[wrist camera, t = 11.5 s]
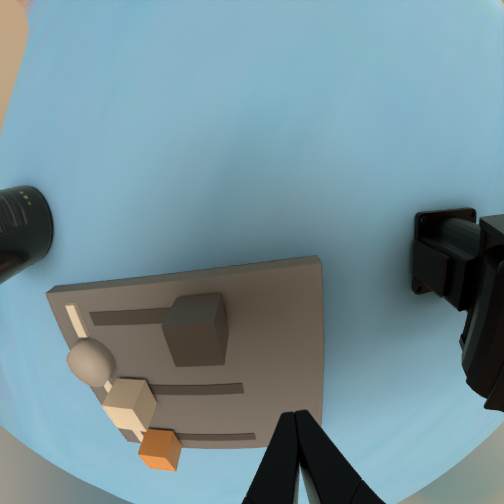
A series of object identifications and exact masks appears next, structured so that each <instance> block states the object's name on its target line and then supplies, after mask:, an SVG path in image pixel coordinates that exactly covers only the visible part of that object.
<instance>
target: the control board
mask: <svg viewBox="0 0 504 504" xmlns="http://www.w3.org/2000/svg"><path fill="white" fill-rule="evenodd" d="M215 293H221V295H222V300H223V305H224V310H225V315H226V319H227V324H228V328H229V337H228V344H227V351H226V358H225V365H217V366H195V367H176V366H175V364H174V361H173V358H172V356H171V353H170V350H169V348H168V345H167V342H166V339H165V336H164V333H163V331H162V328H161V325H162V323H163V321H164V319H165V318H166V316H167V314H168V312H169V310H170V308H171V306H172V305H173V303H174V301H175V299H176V297H186V296H196V295H206V294H215ZM45 294H46V296H47V299H48V302H49V304H50V307H51V309H52V312H53V314H54V316H55V319H56V321H57V323H58V326H59V328H60V330H61V332H62V334H63V337H64V339H65V341H66V343H67V345H68V347H69V349H70V352H69V353H68V355H67V363H68V366H69V368H70V369H71V371H72V372H73V373H74V375H75V376H76V377H77V378H79V379H80V380H81V381H82V382H84V383H86V384H88V385H89V386H90V387H91V389H92V390H93V392H94V394H95V395H96V397H97V399H98V400H99V402H100V403H101V405H102V404H103V402H104V400H105V398H106V396H107V395H108V393H109V391H110V389H111V387H112V385H113V384H114V382H115V380H116V378H117V379H132V380H146V383H147V385H148V387H149V389H150V391H151V393H152V395H153V396H154V398H155V400H156V402H157V405H156V408H155V410H154V413H153V416H152V419H151V422H150V425H149V428H148V429H153V430H164V431H173V432H174V434H175V436H176V437H177V439H178V441H179V442H180V444H181V446H182V448H201V449H240V448H260V447H268V445H269V442H270V440H271V438H272V435H273V433H274V430H275V428H276V425H277V423H278V420H279V418H280V415H281V413H283V412H290V411H293V412H294V413H295V411H297V410H304V409H306V410H308V411H309V412H310V414H311V415H312V416H313V418H314V419H315V420H316V421H317V423H318V424H319V425H320V427H321V424H322V404H323V370H324V322H323V287H322V265H321V261H320V260H319V258H318V257H317V255H314V256H307V257H299V258H292V259H284V260H276V261H269V262H261V263H253V264H245V265H237V266H229V267H221V268H213V269H204V270H196V271H188V272H179V273H171V274H162V275H154V276H145V277H136V278H127V279H118V280H109V281H100V282H91V283H81V284H72V285H62V286H54V287H53V288H52V289H50V290H49V291H48V292H46V293H45ZM118 429H119V431H120V432H121V433H122V435H123V436H124V437H125V439H126V440H127V441H129V442H135V443H142V440H143V437H144V434H145V432H143V431H135V430H128V429H122V428H118Z"/></svg>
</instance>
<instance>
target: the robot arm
mask: <svg viewBox="0 0 504 504" xmlns="http://www.w3.org/2000/svg"><path fill="white" fill-rule="evenodd" d="M471 213H472V215H471ZM422 217H423V221H422V222H421V218H422ZM412 274H413V280H412V291H413V292H414V293H415V294H416V295H419V294H423V293H427V292H431V291H433V292H434V293H435V294H436V295H437V296H439V297H440V298H442V297H443V298H444V299H445V300H447V301H448V302H449V303H450V304H451V305H452V306H453V307H455V308H456V309H457V310H458V311H463V310H465V311H466V312H467V313H468V314H467V319H466V323H465V326H464V330H463V334H461V336H460V340H459V343H460V346H461V349H462V367H463V369H464V372H465V374H466V376H467V378H466V383H467V384H468V385H469V386H470V387H471V389H472V390H473V391H475V392H476V393H477V394H479V395H480V396H482V397H484V398H486V399H487V400H486V402H485V404H484V408H485V409H489V410H499V411H502V412H504V214H501V215H493V216H485V217H480V219H479V225H478V224H476V210H475V209H473V208H460V209H448V210H437V211H426V212H419V213H418V214H417V215H416V219H415V242H414V253H413V268H412ZM418 286H419V288H418V289H417V287H418ZM416 289H417V290H416ZM299 462H300V465H299ZM300 468H301V473H302V477H303V481H304V484H305V488H306V492H307V496H308V499H309V503H310V504H386V503H385V502H384V501H382V500H381V499H380V498H379V497H378V496H377V495H376V494H375V493H374V492H373V490H372V489H371V488H370V487H369V486H368V485H367V484H366V483H365V481H364V480H362V478H361V477H360V476H359V474H358V473H357V472H356V471H355V470H354V468H353V467H352V466H351V465H350V463H349V462H348V461H347V460H346V458H345V457H344V456H343V455H342V453H341V452H340V451H339V450H338V448H337V447H336V446H335V445H334V443H333V442H332V441H331V440H330V438H329V437H328V436H327V434H326V433H325V432H324V431H323V429H322V428H321V427H320V425H319V424H318V423H317V421H316V420H315V419H314V418H313V416H312V415H311V414H310V412H309V411H308V410H306V409H304V410H297V411H295V413H294V412H293V411H290V412H283V413H281V415H280V418H279V420H278V423H277V425H276V428H275V430H274V433H273V435H272V438H271V440H270V442H269V445H268V447H267V450H266V452H265V454H264V457H263V459H262V461H261V463H260V466H259V468H258V470H257V472H256V475H255V477H254V479H253V481H252V483H251V485H250V488H249V490H248V492H247V494H246V497H245V498H244V500H243V502H242V504H298V491H299V474H300ZM361 480H362V481H361Z"/></svg>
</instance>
